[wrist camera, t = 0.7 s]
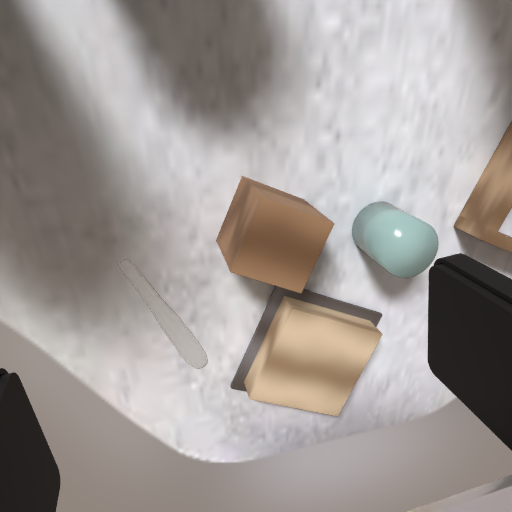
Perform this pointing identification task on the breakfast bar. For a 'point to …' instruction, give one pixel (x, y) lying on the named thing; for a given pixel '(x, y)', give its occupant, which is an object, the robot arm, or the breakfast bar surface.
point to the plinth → (307, 351)
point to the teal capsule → (395, 239)
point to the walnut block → (272, 235)
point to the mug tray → (491, 198)
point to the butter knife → (166, 318)
